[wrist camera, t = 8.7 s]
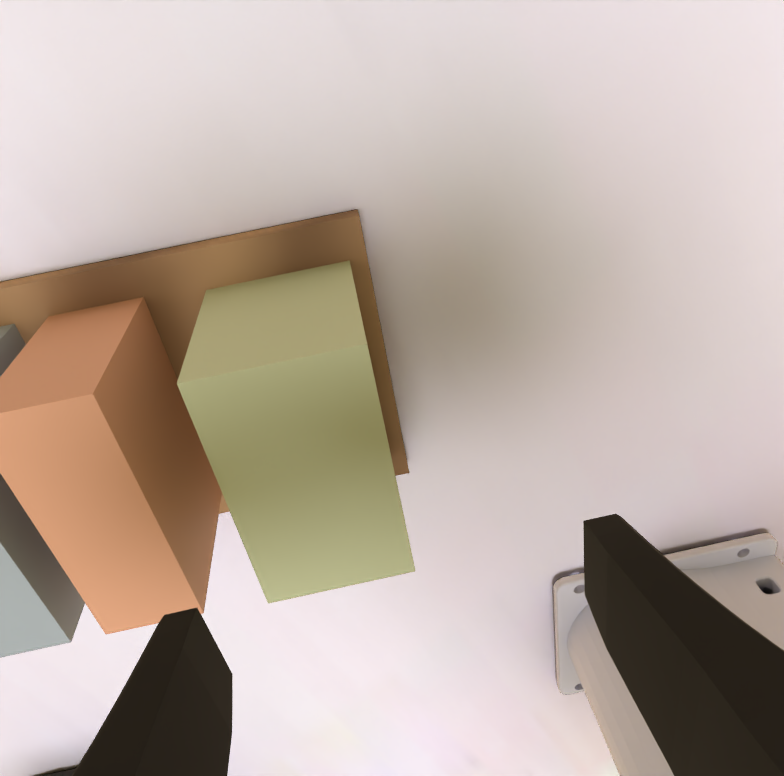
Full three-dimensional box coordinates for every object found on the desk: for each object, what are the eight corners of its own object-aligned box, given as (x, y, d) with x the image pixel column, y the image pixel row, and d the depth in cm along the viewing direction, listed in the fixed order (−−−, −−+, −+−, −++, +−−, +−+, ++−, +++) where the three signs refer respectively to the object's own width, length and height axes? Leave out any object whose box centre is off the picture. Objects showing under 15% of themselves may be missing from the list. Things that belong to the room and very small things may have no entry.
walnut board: (357, 209, 17) (359, 215, 17) (406, 461, 22) (409, 472, 21) (-230, 328, 17) (-246, 338, 16) (-49, 559, 21) (-57, 572, 21)
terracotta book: (143, 297, 17) (92, 393, 13) (222, 488, 21) (203, 613, 16) (48, 316, 17) (-34, 420, 13) (144, 505, 21) (105, 634, 16)
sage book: (349, 260, 17) (366, 343, 13) (391, 456, 21) (415, 571, 17) (206, 290, 17) (176, 383, 13) (273, 481, 21) (268, 603, 17)
